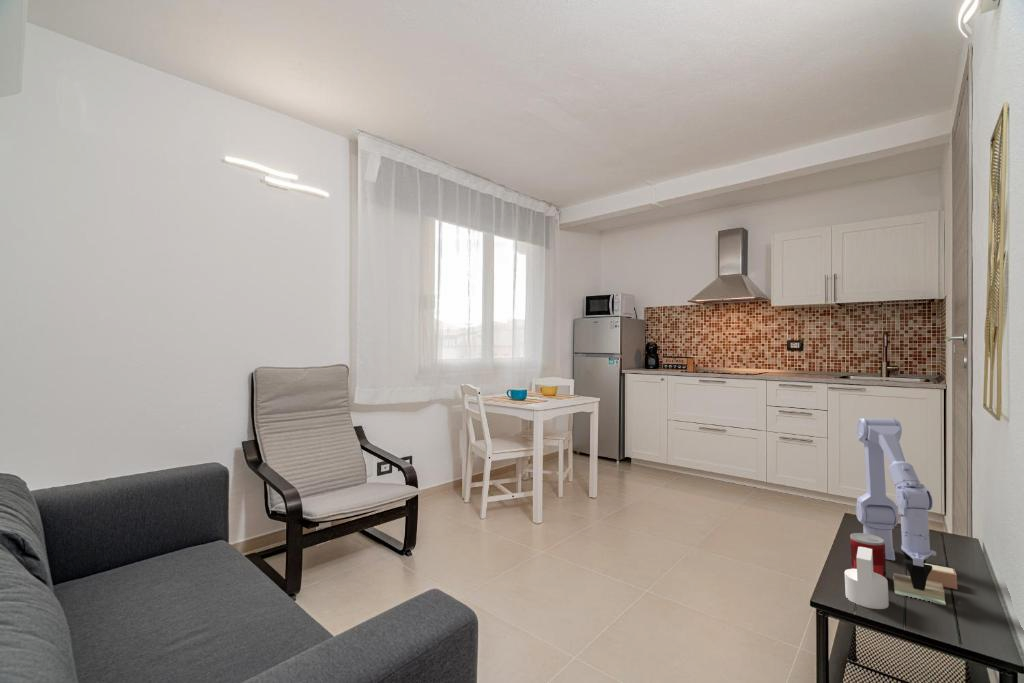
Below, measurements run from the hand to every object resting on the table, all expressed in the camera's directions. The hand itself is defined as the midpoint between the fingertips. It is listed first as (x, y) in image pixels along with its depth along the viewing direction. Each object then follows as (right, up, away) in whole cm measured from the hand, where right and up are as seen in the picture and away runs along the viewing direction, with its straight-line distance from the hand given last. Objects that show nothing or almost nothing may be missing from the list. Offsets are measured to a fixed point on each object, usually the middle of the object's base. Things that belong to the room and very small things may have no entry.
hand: (917, 583), depth 126 cm
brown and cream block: (+9, -2, +5) cm, 10 cm away
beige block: (0, -2, 0) cm, 2 cm away
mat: (0, -2, 0) cm, 2 cm away
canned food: (-6, -3, +9) cm, 11 cm away
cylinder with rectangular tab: (-17, -3, -4) cm, 17 cm away
